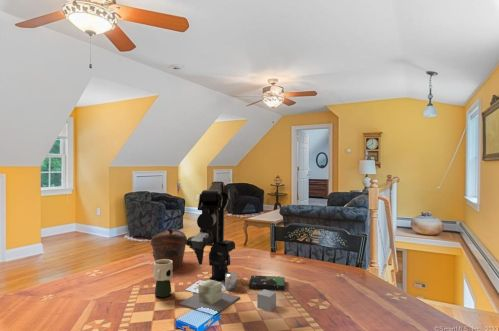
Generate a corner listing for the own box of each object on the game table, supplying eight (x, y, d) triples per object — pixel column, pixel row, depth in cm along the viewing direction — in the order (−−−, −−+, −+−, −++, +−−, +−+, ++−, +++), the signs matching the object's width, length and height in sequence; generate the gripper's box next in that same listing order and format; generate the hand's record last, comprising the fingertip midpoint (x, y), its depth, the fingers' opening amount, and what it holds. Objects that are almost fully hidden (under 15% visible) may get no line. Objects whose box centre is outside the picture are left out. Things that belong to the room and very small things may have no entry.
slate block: (257, 308, 111) (257, 294, 111) (263, 302, 115) (264, 289, 115) (269, 311, 108) (269, 297, 108) (276, 305, 112) (276, 292, 112)
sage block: (198, 301, 115) (198, 284, 115) (208, 295, 120) (208, 279, 120) (211, 304, 112) (211, 288, 112) (221, 298, 117) (221, 282, 117)
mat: (178, 304, 113) (178, 303, 113) (206, 289, 127) (206, 288, 127) (214, 315, 105) (214, 313, 105) (239, 298, 119) (239, 296, 119)
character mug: (166, 301, 115) (167, 266, 115) (148, 300, 116) (148, 266, 116) (176, 290, 126) (176, 258, 126) (159, 289, 127) (159, 257, 127)
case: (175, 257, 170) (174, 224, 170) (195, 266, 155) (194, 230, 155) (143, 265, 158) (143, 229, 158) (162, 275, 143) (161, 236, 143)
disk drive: (248, 291, 127) (285, 292, 126) (248, 284, 127) (285, 285, 126) (251, 281, 138) (284, 282, 136) (250, 275, 138) (284, 276, 136)
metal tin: (222, 289, 127) (222, 274, 127) (229, 285, 131) (229, 271, 131) (232, 292, 124) (232, 277, 124) (239, 287, 129) (239, 273, 129)
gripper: (176, 225, 114) (176, 268, 114) (217, 231, 104) (217, 277, 104) (196, 220, 123) (196, 260, 123) (236, 225, 114) (235, 268, 114)
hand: (210, 266), depth 116 cm, fingers open, 9 cm apart
